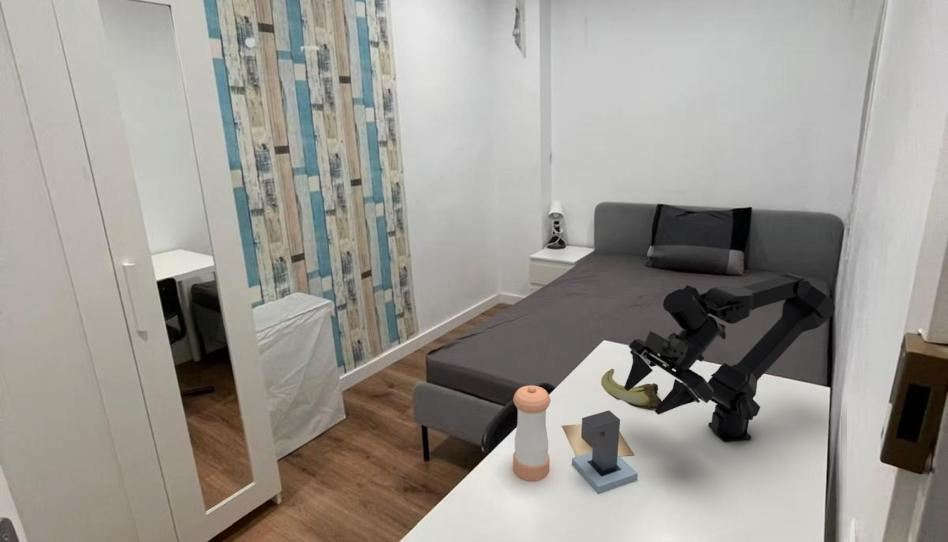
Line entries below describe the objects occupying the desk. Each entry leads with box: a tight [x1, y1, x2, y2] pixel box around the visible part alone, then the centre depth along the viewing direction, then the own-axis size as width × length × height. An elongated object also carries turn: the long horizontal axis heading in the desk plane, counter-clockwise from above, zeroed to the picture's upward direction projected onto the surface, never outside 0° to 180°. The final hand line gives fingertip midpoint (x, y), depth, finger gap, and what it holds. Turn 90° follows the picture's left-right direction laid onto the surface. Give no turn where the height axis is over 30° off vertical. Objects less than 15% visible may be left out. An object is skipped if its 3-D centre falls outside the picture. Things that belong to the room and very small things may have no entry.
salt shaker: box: [512, 385, 551, 482], centre depth 100 cm, size 7×7×19 cm
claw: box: [601, 368, 663, 409], centre depth 129 cm, size 20×10×3 cm, turn 35°
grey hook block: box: [581, 410, 621, 477], centre depth 98 cm, size 6×3×13 cm, turn 112°
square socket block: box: [571, 452, 638, 495], centre depth 101 cm, size 9×9×2 cm
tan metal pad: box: [561, 423, 635, 458], centre depth 111 cm, size 12×12×1 cm
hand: (640, 400), depth 100 cm, fingers open, 9 cm apart
